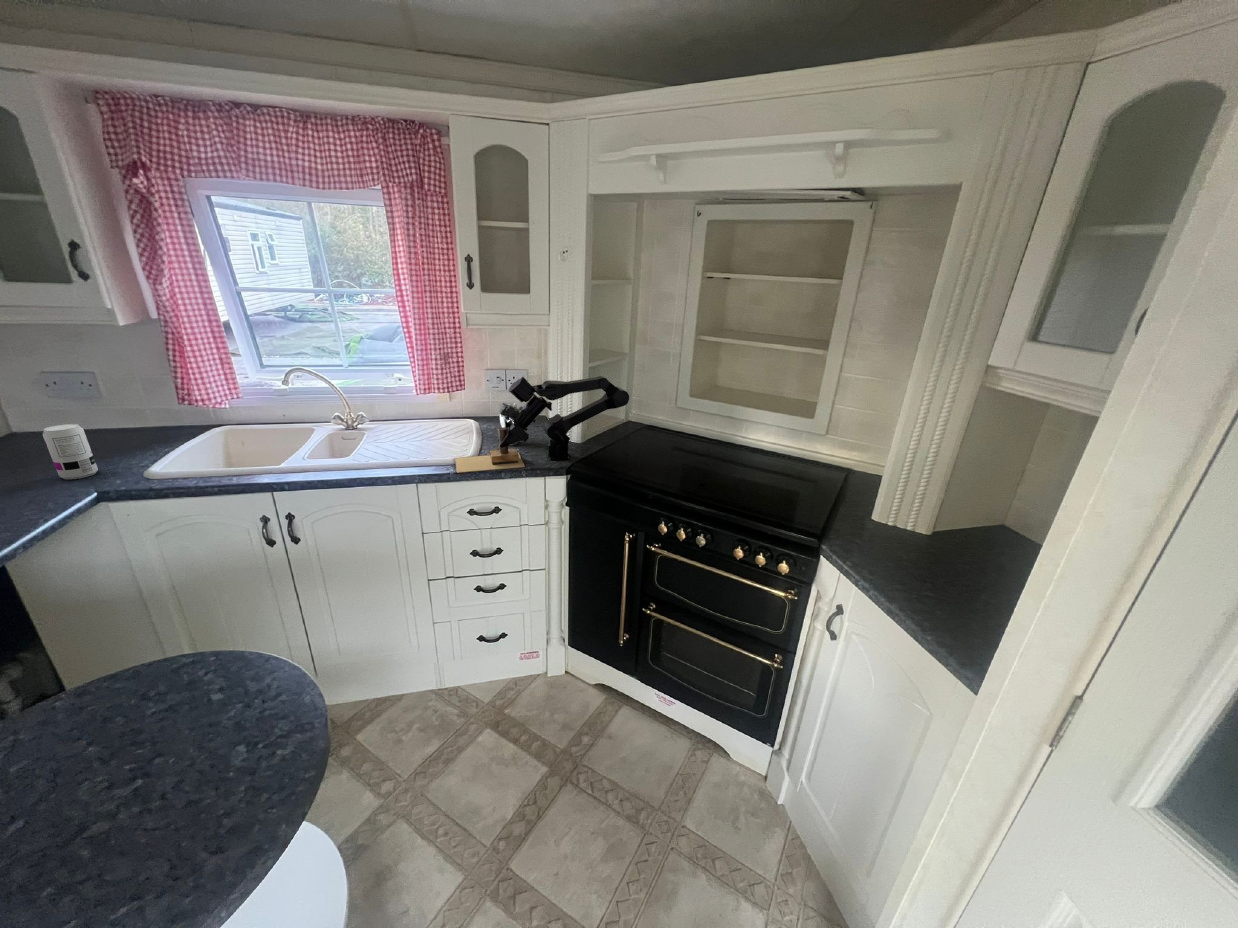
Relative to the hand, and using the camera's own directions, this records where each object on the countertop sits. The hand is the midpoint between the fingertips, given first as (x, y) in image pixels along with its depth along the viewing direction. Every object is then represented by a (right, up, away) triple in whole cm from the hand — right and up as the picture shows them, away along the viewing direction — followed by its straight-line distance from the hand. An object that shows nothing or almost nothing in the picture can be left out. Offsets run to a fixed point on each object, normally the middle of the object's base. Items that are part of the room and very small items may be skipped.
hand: (499, 444), depth 168 cm
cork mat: (-4, -6, +2) cm, 8 cm away
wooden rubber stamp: (+1, -6, +3) cm, 6 cm away
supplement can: (-122, -10, -19) cm, 124 cm away
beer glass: (-1, +1, +22) cm, 22 cm away
